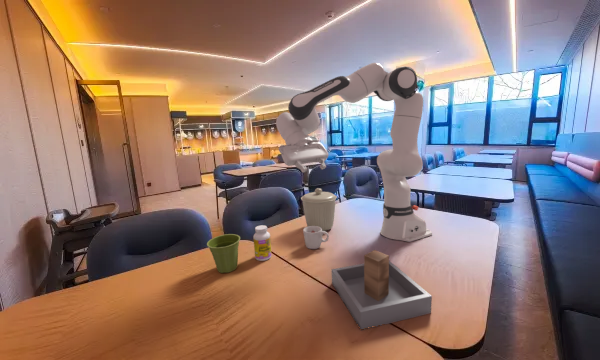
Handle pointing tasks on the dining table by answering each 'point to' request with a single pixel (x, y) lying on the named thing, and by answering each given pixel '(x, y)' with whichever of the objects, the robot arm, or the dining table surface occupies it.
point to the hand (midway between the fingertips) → (314, 169)
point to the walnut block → (376, 274)
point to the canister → (319, 209)
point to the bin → (394, 307)
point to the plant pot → (225, 252)
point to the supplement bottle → (262, 243)
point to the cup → (314, 237)
